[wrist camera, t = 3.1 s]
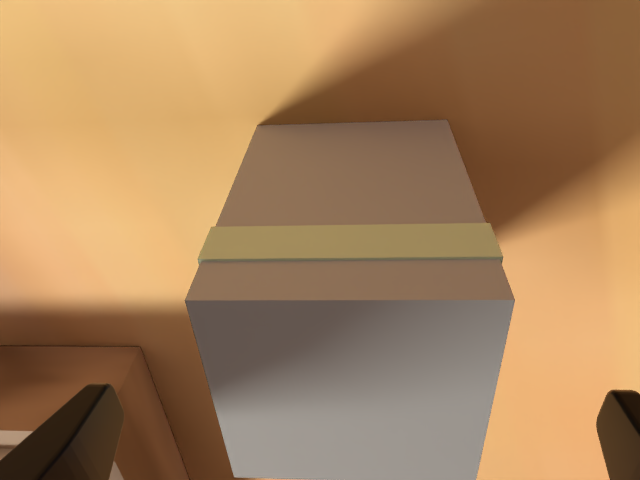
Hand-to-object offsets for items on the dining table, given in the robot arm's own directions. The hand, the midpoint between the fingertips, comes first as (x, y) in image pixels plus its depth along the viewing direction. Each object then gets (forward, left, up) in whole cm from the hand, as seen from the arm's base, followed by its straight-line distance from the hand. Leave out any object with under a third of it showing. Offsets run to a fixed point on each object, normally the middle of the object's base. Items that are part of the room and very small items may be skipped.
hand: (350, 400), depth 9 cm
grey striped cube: (0, 0, -7) cm, 7 cm away
